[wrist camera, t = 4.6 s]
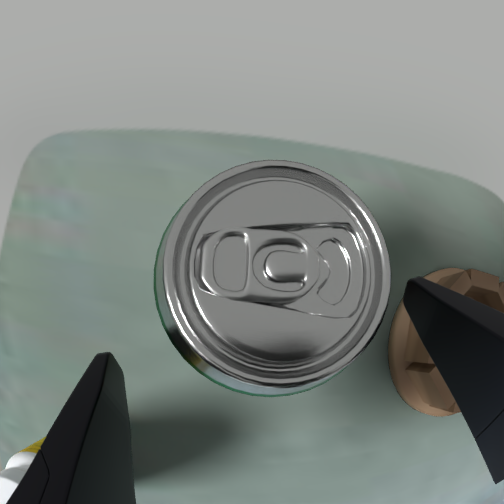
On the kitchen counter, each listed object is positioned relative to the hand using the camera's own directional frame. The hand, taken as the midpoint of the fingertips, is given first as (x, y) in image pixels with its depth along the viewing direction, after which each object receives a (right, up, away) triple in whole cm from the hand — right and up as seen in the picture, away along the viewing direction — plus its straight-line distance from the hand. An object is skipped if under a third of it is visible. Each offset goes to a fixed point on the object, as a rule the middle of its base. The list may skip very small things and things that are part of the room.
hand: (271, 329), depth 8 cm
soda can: (-1, -1, +9) cm, 9 cm away
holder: (+13, -4, +9) cm, 16 cm away
